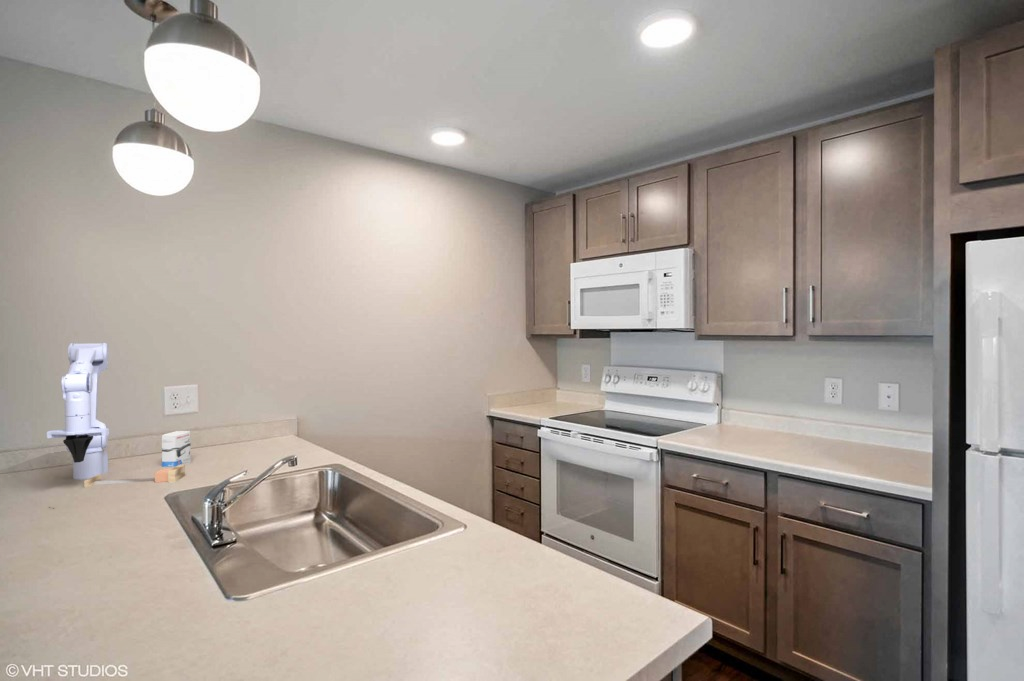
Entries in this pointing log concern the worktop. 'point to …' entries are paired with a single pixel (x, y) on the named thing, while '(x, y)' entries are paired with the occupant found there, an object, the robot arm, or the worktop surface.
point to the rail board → (172, 477)
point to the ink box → (176, 448)
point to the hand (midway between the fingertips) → (79, 461)
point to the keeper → (162, 475)
